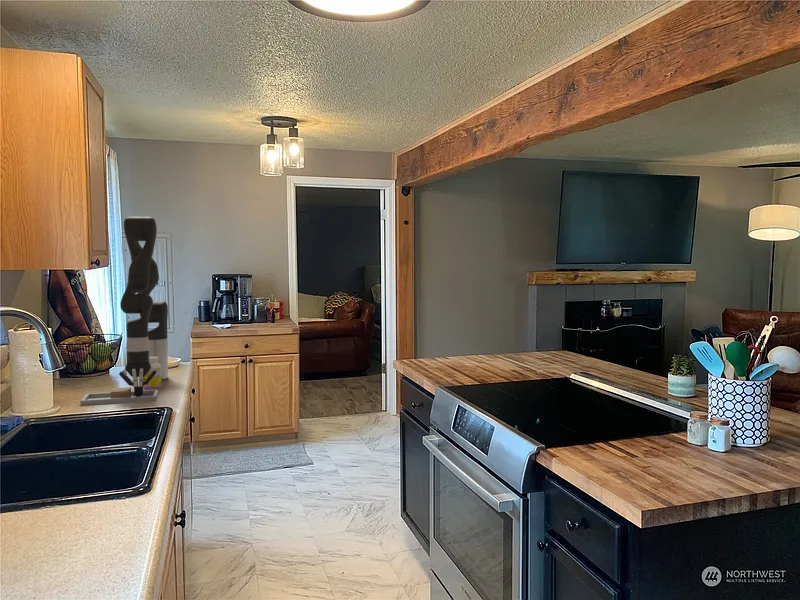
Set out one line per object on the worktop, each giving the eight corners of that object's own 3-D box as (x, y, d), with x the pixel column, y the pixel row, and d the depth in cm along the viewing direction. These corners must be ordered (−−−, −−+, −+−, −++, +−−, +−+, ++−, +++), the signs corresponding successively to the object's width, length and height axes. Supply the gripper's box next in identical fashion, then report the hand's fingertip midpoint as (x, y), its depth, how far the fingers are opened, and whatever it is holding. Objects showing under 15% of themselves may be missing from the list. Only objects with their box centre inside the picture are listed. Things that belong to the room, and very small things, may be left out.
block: (113, 397, 212) (112, 388, 211) (131, 396, 214) (131, 387, 213) (110, 401, 206) (110, 391, 206) (129, 400, 208) (129, 390, 208)
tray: (86, 400, 211) (86, 393, 211) (158, 396, 219) (158, 389, 219) (80, 407, 201) (80, 400, 201) (156, 403, 209) (156, 396, 208)
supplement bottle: (140, 389, 230) (140, 356, 229) (158, 386, 234) (157, 355, 234) (146, 392, 225) (145, 359, 224) (163, 389, 229) (163, 357, 228)
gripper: (158, 346, 216) (159, 393, 217) (118, 348, 212) (119, 395, 213) (157, 350, 209) (157, 397, 210) (116, 351, 205) (117, 400, 206)
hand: (138, 396), depth 212 cm, fingers closed
